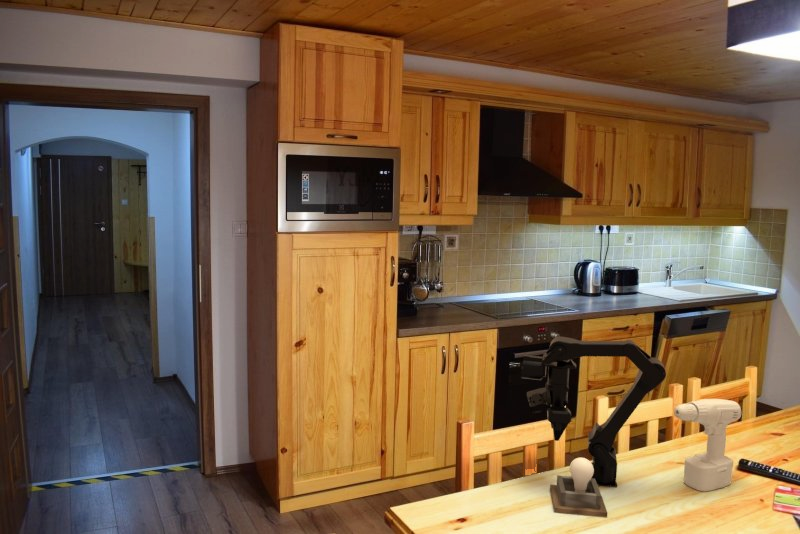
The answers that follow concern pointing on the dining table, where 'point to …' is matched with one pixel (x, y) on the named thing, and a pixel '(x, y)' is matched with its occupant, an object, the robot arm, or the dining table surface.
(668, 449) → the dining table surface
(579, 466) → the lightbulb
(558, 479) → the lamp socket
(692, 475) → the power drill
